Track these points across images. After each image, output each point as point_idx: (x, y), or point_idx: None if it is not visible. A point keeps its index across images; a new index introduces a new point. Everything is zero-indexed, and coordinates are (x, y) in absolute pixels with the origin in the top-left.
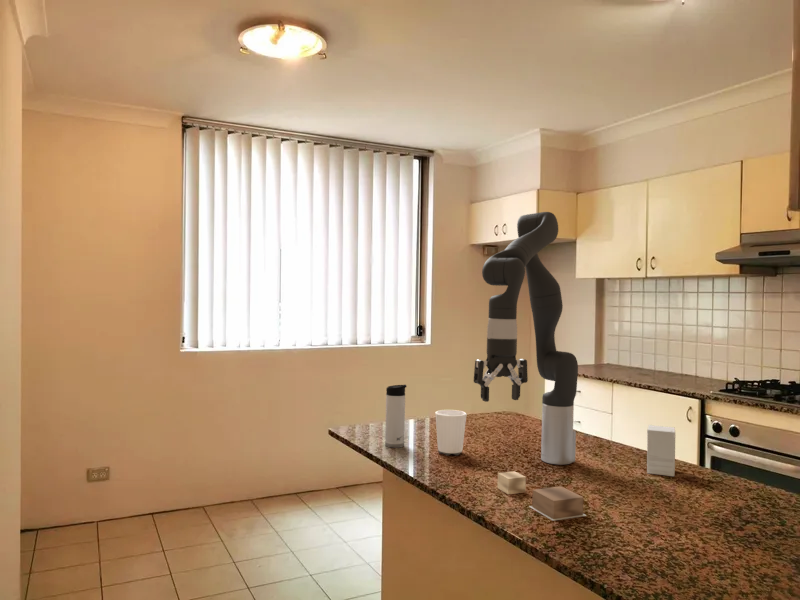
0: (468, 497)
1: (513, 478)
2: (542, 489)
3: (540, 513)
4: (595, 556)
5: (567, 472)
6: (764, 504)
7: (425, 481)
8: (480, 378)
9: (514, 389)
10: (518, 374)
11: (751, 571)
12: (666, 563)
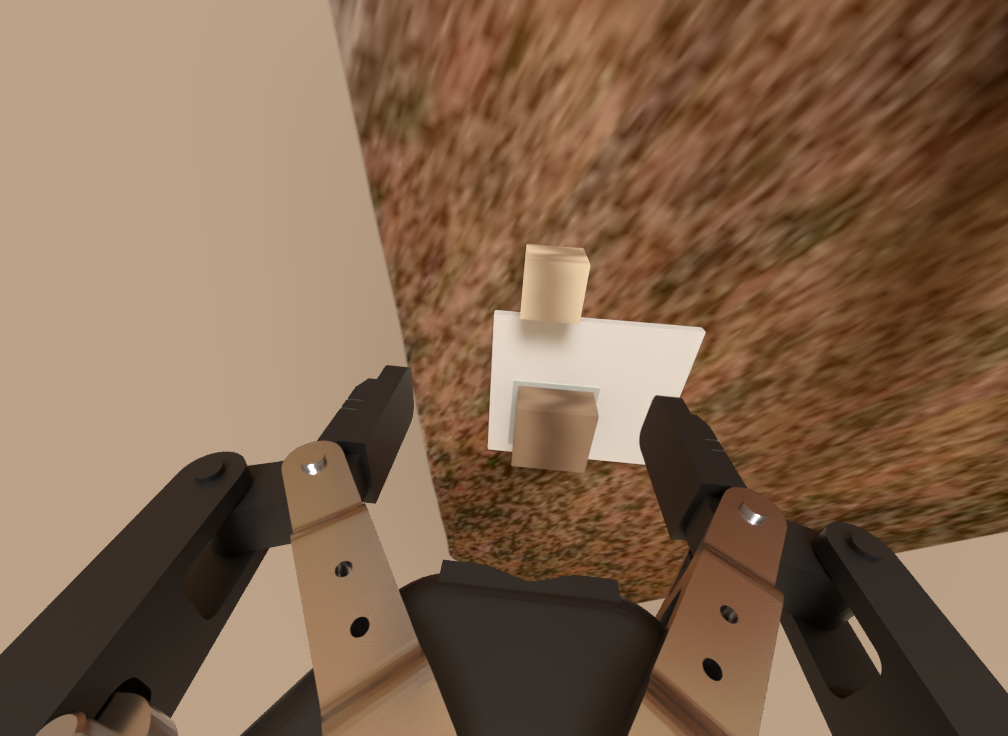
0: (428, 247)
1: (536, 320)
2: (539, 415)
3: (510, 414)
4: (491, 514)
5: (922, 153)
6: (963, 514)
7: (347, 21)
8: (221, 579)
9: (669, 483)
10: (877, 616)
11: (626, 584)
12: (557, 549)
